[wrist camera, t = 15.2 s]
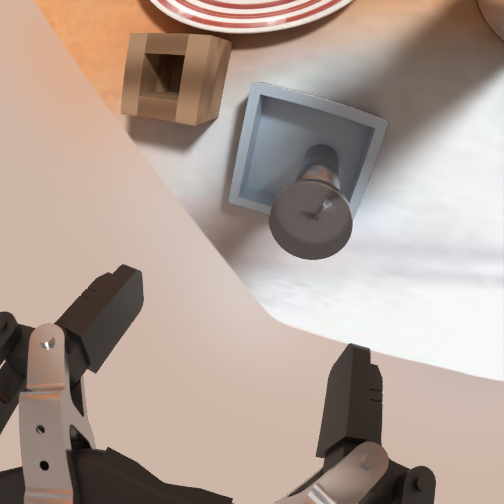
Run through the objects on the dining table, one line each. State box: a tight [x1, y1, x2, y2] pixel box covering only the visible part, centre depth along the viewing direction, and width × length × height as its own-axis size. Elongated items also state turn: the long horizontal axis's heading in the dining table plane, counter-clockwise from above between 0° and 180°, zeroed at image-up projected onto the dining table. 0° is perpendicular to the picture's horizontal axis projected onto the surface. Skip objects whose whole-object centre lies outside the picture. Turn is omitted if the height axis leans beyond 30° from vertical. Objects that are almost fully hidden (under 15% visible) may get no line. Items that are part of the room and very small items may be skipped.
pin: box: [269, 144, 353, 260], centre depth 24 cm, size 5×5×15 cm
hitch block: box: [121, 33, 233, 126], centre depth 26 cm, size 9×9×6 cm
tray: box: [228, 82, 389, 222], centre depth 29 cm, size 13×13×4 cm
